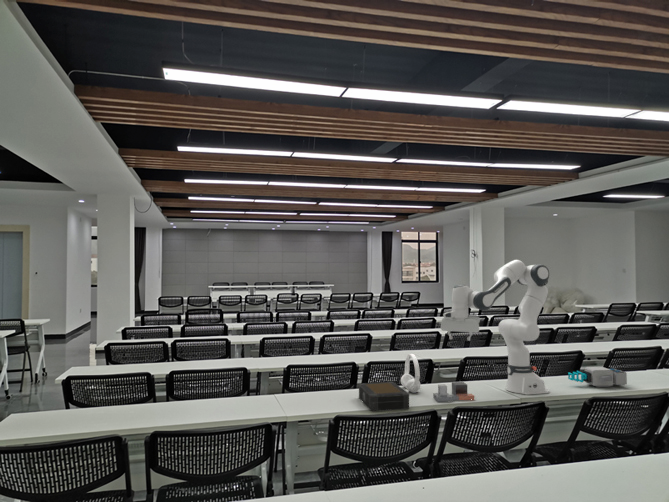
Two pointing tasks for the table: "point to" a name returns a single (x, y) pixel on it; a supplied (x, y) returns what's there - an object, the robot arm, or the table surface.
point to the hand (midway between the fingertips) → (459, 339)
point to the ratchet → (445, 397)
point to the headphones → (407, 379)
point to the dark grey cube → (459, 388)
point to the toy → (600, 376)
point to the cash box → (383, 396)
